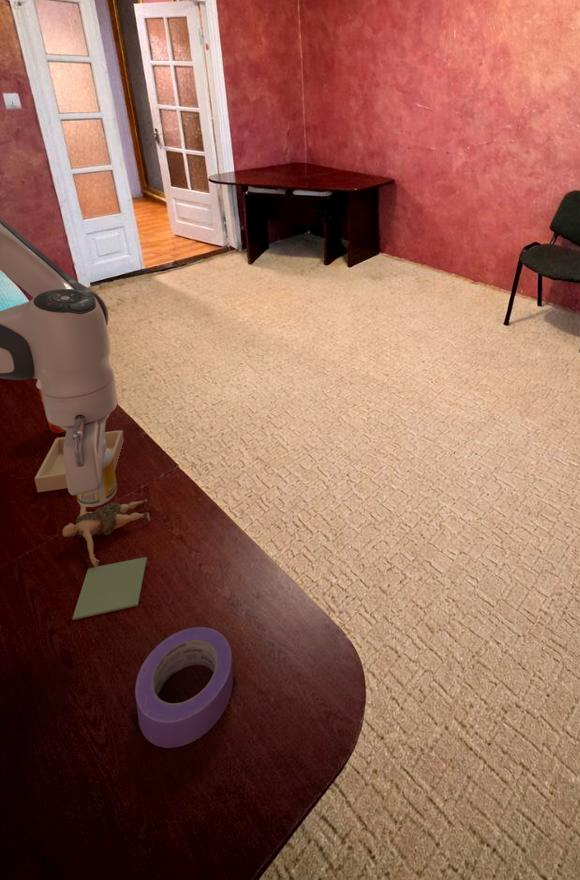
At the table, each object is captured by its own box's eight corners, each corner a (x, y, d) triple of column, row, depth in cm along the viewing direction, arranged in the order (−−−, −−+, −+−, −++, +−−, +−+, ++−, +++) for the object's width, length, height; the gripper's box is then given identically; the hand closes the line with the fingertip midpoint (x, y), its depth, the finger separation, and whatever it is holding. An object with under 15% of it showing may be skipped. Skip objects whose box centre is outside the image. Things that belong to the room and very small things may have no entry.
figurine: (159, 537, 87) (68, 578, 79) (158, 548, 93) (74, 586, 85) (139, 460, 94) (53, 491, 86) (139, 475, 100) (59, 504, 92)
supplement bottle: (83, 514, 72) (73, 461, 69) (73, 494, 75) (63, 443, 72) (122, 496, 76) (115, 445, 73) (111, 478, 79) (104, 428, 76)
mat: (72, 620, 74) (72, 618, 74) (88, 570, 82) (88, 568, 82) (138, 605, 77) (137, 603, 77) (147, 558, 85) (146, 556, 85)
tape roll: (218, 634, 73) (216, 610, 72) (245, 708, 65) (244, 682, 63) (131, 683, 66) (127, 657, 65) (148, 772, 58) (144, 746, 56)
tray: (37, 492, 97) (34, 478, 96) (58, 450, 109) (56, 437, 108) (111, 481, 101) (109, 467, 100) (124, 442, 113) (122, 429, 112)
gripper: (103, 435, 63) (116, 518, 67) (109, 363, 80) (119, 434, 84) (44, 447, 60) (62, 533, 64) (64, 370, 77) (76, 442, 81)
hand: (94, 476), depth 74 cm, fingers closed on supplement bottle, 5 cm apart
